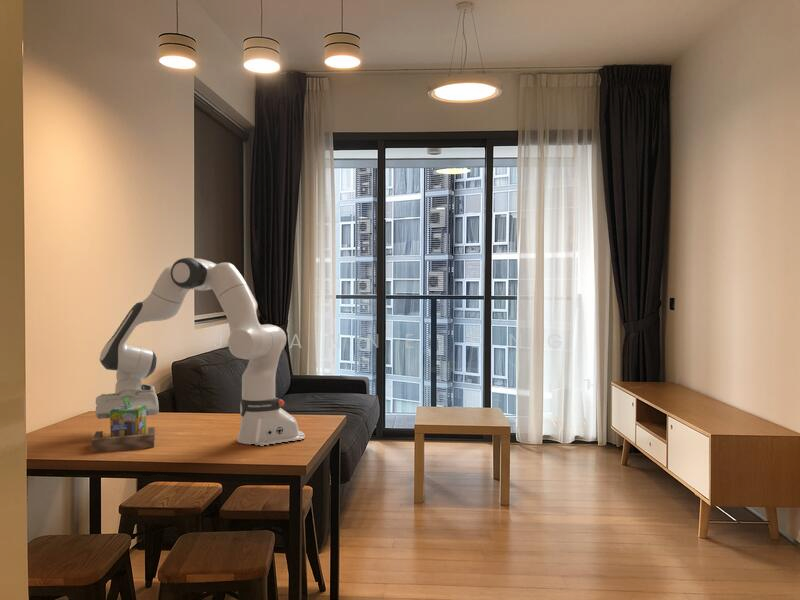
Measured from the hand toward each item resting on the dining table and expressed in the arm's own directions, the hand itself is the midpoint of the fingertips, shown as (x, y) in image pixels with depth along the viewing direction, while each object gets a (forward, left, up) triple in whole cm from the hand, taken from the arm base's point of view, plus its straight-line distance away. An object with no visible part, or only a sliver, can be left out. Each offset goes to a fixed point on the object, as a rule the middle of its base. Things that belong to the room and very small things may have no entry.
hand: (126, 425), depth 204 cm
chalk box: (-1, +6, -4) cm, 7 cm away
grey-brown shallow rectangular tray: (0, +10, -4) cm, 11 cm away
